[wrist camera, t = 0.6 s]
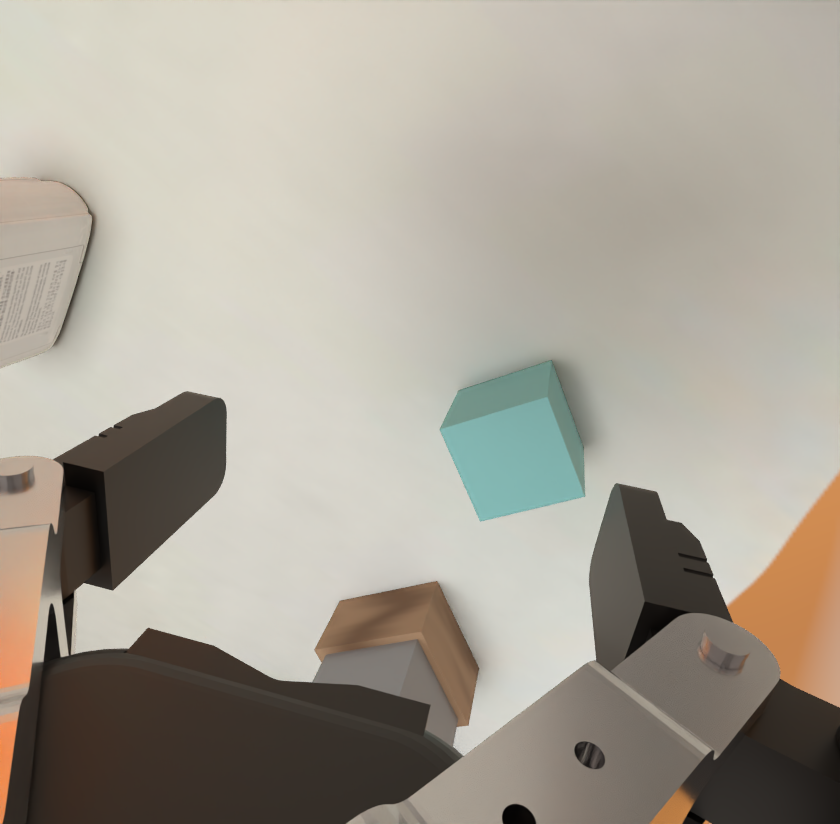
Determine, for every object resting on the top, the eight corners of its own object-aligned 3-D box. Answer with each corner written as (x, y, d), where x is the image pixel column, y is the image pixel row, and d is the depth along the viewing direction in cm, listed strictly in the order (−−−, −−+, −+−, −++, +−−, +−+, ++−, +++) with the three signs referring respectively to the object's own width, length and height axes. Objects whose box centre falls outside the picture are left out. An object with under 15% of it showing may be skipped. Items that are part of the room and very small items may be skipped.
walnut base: (438, 578, 37) (421, 631, 33) (479, 665, 39) (468, 725, 35) (340, 598, 39) (314, 649, 35) (384, 679, 41) (363, 736, 37)
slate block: (417, 639, 33) (395, 706, 29) (458, 719, 35) (443, 793, 31) (325, 654, 35) (293, 719, 31) (368, 729, 37) (343, 800, 33)
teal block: (551, 359, 30) (547, 396, 25) (583, 447, 31) (585, 496, 27) (458, 389, 31) (439, 429, 27) (493, 470, 33) (480, 521, 28)
